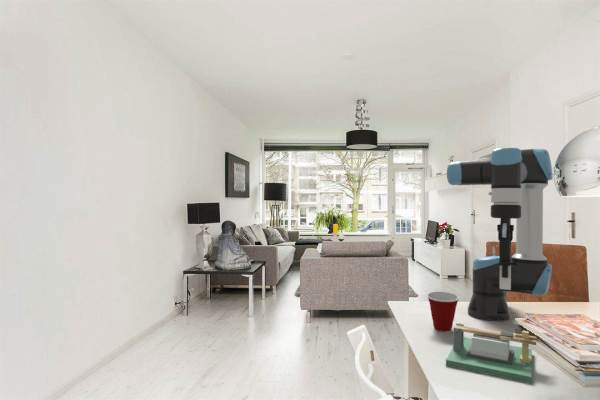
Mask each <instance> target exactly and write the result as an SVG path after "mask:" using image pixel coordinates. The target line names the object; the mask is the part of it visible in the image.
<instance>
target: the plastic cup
mask: <svg viewBox="0 0 600 400" xmlns="http://www.w3.org/2000/svg"><path fill="white" fill-rule="evenodd" d="M426 296H427V299H428V302H429V307H430V313H431V314H430V315H431V319H432V325H433V328H434V330H436V331H438V332H448V333H449V332H451V331H452V328H453V325H454V321H455V320H454V319H455V315H456V309H457V306H458V302H459V300H460V296H459V295H458V294H456V293H452V292H448V291H431V292H428V293H427V294H426Z"/></svg>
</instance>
